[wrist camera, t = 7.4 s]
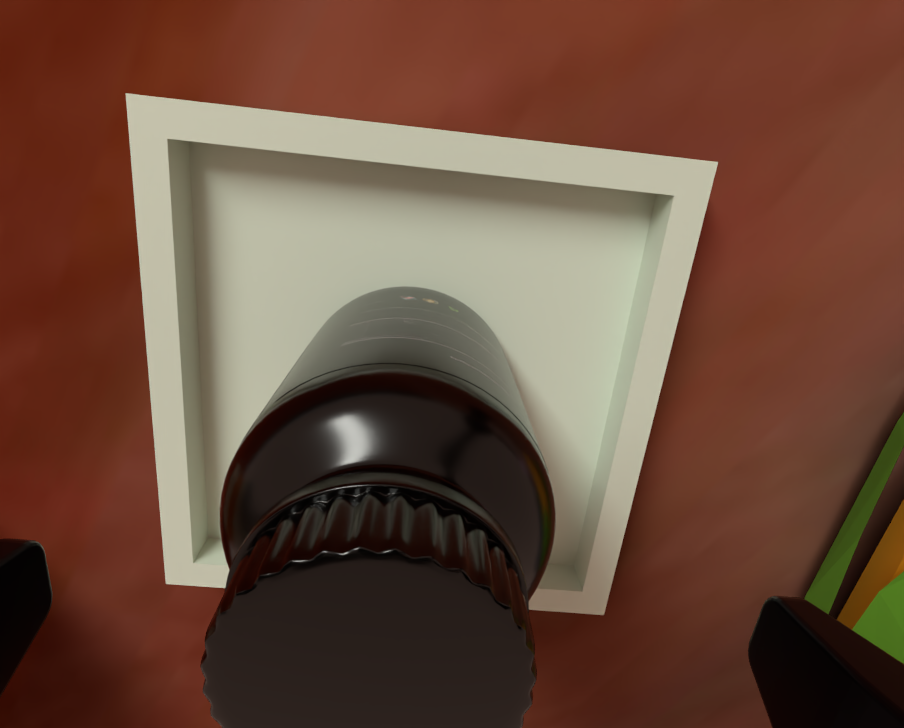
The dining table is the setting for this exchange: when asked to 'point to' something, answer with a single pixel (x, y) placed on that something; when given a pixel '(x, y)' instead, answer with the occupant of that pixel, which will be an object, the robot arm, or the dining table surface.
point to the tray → (414, 265)
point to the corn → (870, 564)
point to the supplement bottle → (384, 531)
